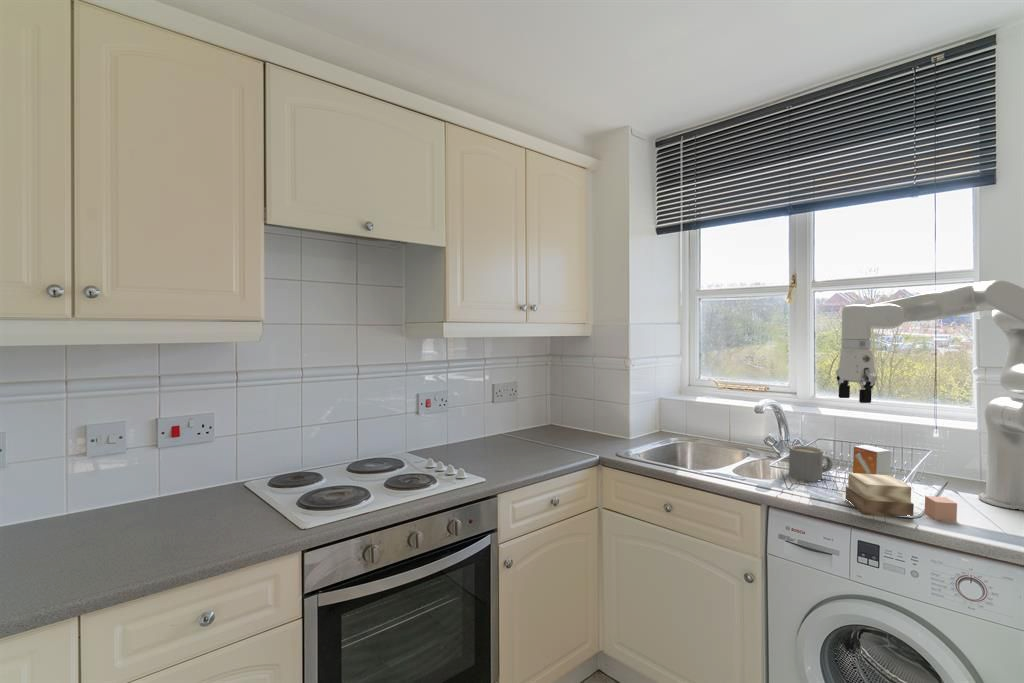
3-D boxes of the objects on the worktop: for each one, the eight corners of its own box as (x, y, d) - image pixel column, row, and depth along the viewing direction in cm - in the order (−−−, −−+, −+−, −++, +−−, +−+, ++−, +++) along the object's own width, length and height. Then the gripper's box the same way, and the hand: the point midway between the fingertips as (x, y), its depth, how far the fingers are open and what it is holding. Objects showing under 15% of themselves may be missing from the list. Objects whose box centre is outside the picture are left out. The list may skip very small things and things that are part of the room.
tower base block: (890, 504, 150) (891, 489, 150) (913, 520, 138) (913, 504, 138) (845, 501, 153) (845, 486, 153) (863, 516, 141) (864, 500, 141)
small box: (851, 484, 167) (853, 445, 167) (866, 482, 169) (867, 444, 169) (875, 492, 160) (877, 451, 159) (890, 490, 162) (891, 450, 161)
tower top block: (889, 490, 150) (890, 475, 149) (910, 503, 139) (911, 487, 139) (848, 487, 152) (848, 472, 152) (865, 500, 141) (866, 484, 141)
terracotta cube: (945, 514, 142) (945, 497, 141) (956, 521, 137) (957, 503, 136) (924, 513, 143) (925, 495, 142) (935, 520, 138) (935, 502, 138)
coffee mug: (792, 480, 172) (792, 451, 172) (786, 472, 181) (786, 444, 181) (837, 484, 168) (838, 454, 167) (828, 475, 177) (829, 447, 177)
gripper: (888, 346, 147) (886, 404, 148) (849, 343, 164) (848, 396, 165) (862, 346, 147) (861, 404, 148) (826, 343, 164) (825, 396, 165)
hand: (854, 400), depth 156 cm, fingers open, 9 cm apart
